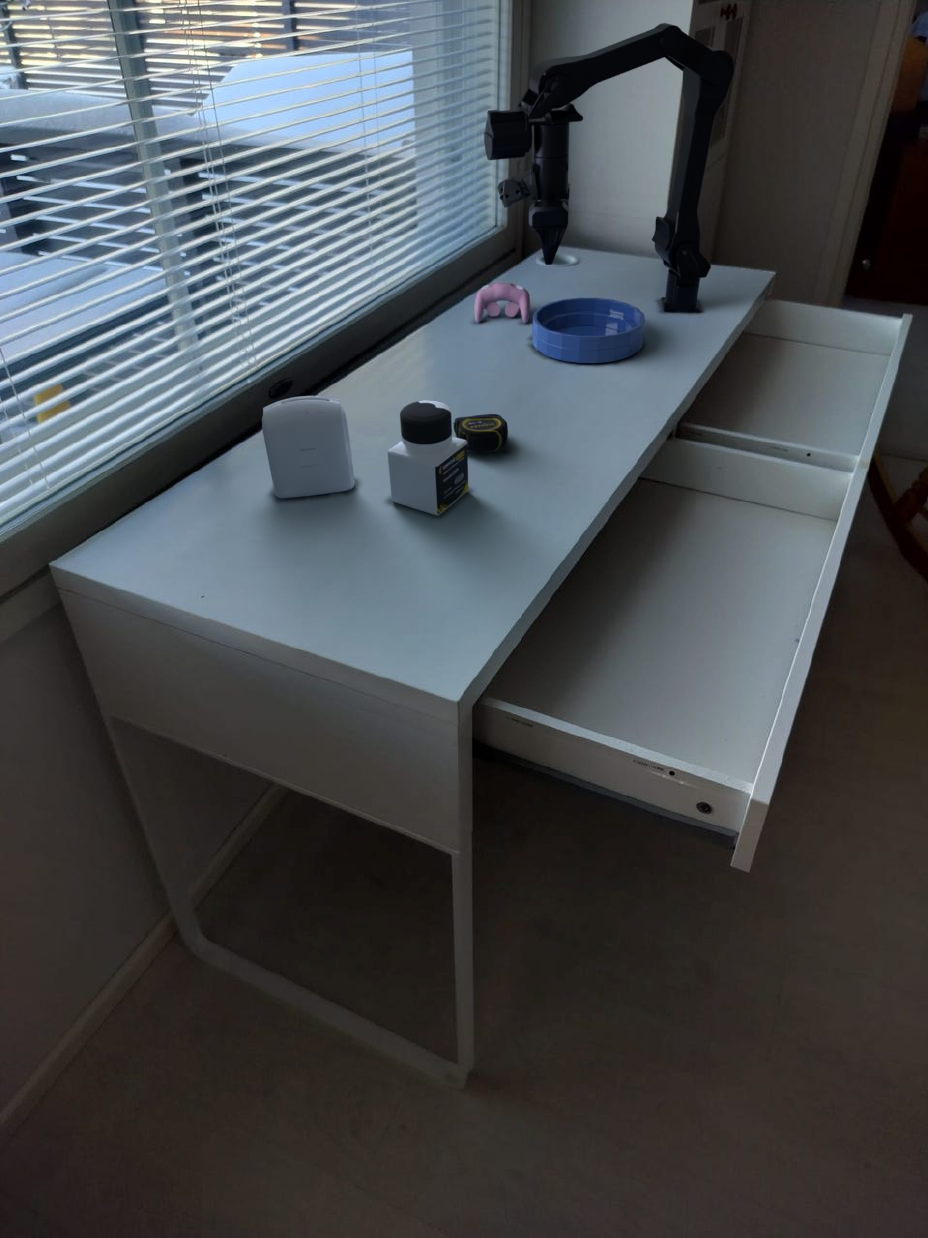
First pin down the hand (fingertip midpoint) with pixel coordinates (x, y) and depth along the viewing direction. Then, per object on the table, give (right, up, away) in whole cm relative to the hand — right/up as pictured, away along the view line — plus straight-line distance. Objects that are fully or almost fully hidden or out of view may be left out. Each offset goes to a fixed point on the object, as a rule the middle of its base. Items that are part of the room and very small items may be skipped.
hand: (549, 255), depth 151 cm
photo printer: (-33, -45, -38) cm, 68 cm away
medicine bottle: (-19, -47, -40) cm, 64 cm away
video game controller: (-8, -8, +8) cm, 14 cm away
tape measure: (-12, -38, -29) cm, 50 cm away
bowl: (+6, -16, -2) cm, 17 cm away
